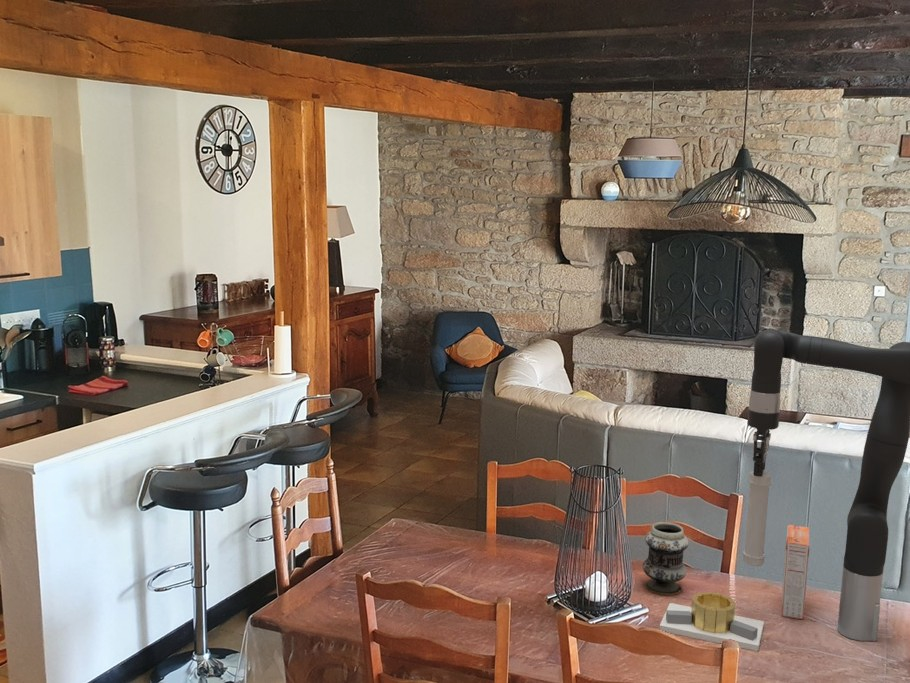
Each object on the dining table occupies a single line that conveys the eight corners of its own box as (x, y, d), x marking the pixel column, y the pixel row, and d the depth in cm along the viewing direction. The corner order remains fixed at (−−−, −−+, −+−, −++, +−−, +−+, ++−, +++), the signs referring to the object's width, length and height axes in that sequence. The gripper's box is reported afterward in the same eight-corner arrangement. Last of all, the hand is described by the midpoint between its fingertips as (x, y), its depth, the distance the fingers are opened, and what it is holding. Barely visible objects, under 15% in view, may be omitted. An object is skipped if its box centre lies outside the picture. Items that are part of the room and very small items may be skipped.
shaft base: (763, 626, 237) (764, 612, 236) (758, 651, 224) (759, 636, 223) (669, 608, 246) (670, 594, 245) (659, 630, 233) (660, 616, 233)
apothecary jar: (682, 600, 251) (686, 538, 248) (637, 592, 255) (641, 531, 252) (688, 583, 262) (692, 523, 259) (645, 576, 266) (649, 516, 263)
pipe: (765, 567, 236) (774, 455, 231) (740, 565, 238) (748, 453, 232) (763, 559, 242) (772, 449, 237) (738, 557, 243) (746, 447, 238)
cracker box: (781, 595, 255) (787, 523, 252) (804, 599, 253) (810, 526, 250) (779, 616, 242) (786, 541, 239) (804, 620, 240) (810, 545, 237)
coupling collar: (735, 618, 237) (737, 597, 236) (730, 636, 228) (732, 613, 227) (694, 610, 241) (696, 589, 240) (688, 627, 232) (689, 605, 231)
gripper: (777, 416, 225) (771, 483, 228) (782, 404, 238) (776, 467, 241) (745, 412, 228) (740, 478, 231) (751, 400, 241) (747, 463, 244)
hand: (759, 472), depth 236 cm, fingers closed on pipe, 5 cm apart
